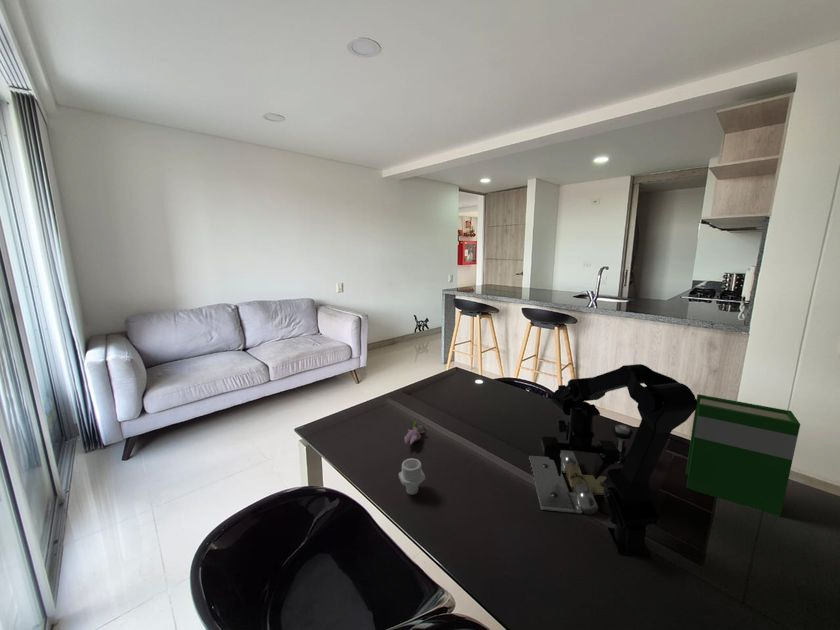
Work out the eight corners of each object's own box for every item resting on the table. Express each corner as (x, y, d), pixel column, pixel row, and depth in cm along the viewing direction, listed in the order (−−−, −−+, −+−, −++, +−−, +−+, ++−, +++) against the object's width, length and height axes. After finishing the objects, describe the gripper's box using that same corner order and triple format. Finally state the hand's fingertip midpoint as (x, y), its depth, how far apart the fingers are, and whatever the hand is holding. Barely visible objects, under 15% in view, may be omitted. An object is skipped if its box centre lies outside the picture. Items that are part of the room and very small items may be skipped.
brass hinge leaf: (624, 498, 89) (625, 484, 88) (571, 493, 91) (572, 480, 90) (613, 480, 95) (615, 467, 95) (564, 476, 98) (565, 463, 97)
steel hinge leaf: (597, 515, 83) (598, 500, 82) (541, 509, 85) (541, 495, 85) (573, 461, 104) (574, 449, 103) (528, 458, 106) (529, 446, 105)
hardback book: (686, 488, 92) (699, 404, 87) (685, 473, 98) (697, 394, 93) (780, 516, 82) (800, 424, 77) (772, 498, 87) (791, 411, 83)
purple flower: (411, 431, 125) (398, 448, 111) (411, 415, 125) (399, 429, 111) (427, 433, 124) (417, 450, 109) (428, 416, 124) (417, 432, 109)
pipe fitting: (418, 479, 97) (417, 453, 96) (428, 495, 91) (427, 468, 89) (397, 485, 95) (396, 459, 94) (405, 502, 89) (404, 475, 87)
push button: (627, 467, 100) (631, 436, 98) (607, 461, 104) (610, 430, 102) (630, 456, 106) (633, 426, 104) (610, 450, 109) (613, 421, 107)
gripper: (608, 411, 96) (603, 461, 99) (538, 408, 99) (536, 456, 102) (624, 432, 86) (618, 487, 89) (546, 427, 89) (543, 481, 92)
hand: (576, 476), depth 93 cm, fingers open, 9 cm apart
